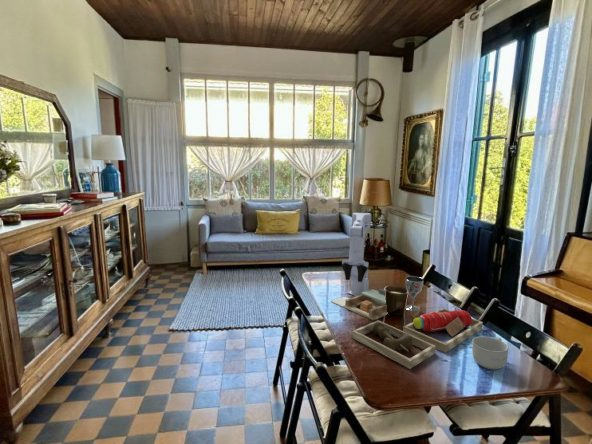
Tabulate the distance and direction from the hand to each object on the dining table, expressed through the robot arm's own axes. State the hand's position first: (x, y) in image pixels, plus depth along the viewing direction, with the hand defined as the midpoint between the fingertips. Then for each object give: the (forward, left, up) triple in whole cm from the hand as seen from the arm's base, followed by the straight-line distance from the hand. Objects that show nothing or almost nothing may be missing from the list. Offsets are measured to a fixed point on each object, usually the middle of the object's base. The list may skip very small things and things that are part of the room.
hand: (353, 280), depth 153 cm
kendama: (+10, +29, -16) cm, 35 cm away
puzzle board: (-11, +2, -16) cm, 19 cm away
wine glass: (-27, +14, -16) cm, 35 cm away
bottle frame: (-17, +35, -16) cm, 42 cm away
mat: (-6, -11, -16) cm, 20 cm away
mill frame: (+10, +29, -16) cm, 34 cm away
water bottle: (-17, +35, -16) cm, 42 cm away
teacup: (-8, +57, -16) cm, 60 cm away
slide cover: (-17, +2, -11) cm, 20 cm away
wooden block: (-7, +2, -16) cm, 17 cm away
